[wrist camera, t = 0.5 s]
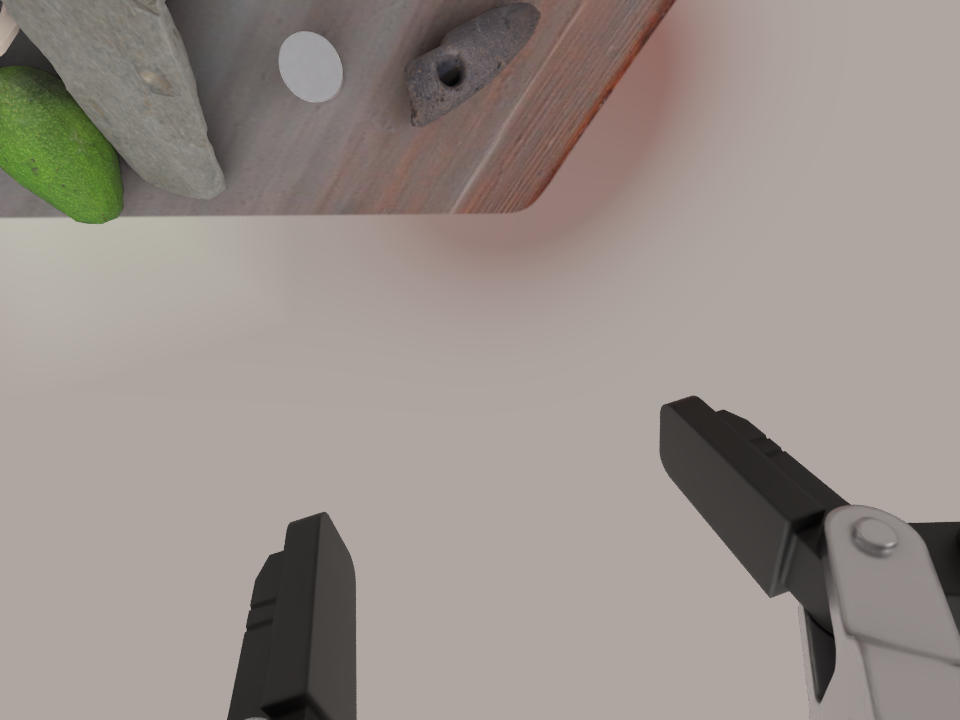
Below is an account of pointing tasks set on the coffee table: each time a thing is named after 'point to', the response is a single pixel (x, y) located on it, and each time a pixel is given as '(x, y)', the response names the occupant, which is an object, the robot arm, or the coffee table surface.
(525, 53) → the coffee table surface
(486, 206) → the coffee table surface
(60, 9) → the stone
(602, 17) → the coffee table surface
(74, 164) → the fruit
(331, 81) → the salt shaker
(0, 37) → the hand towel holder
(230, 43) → the coffee table surface
